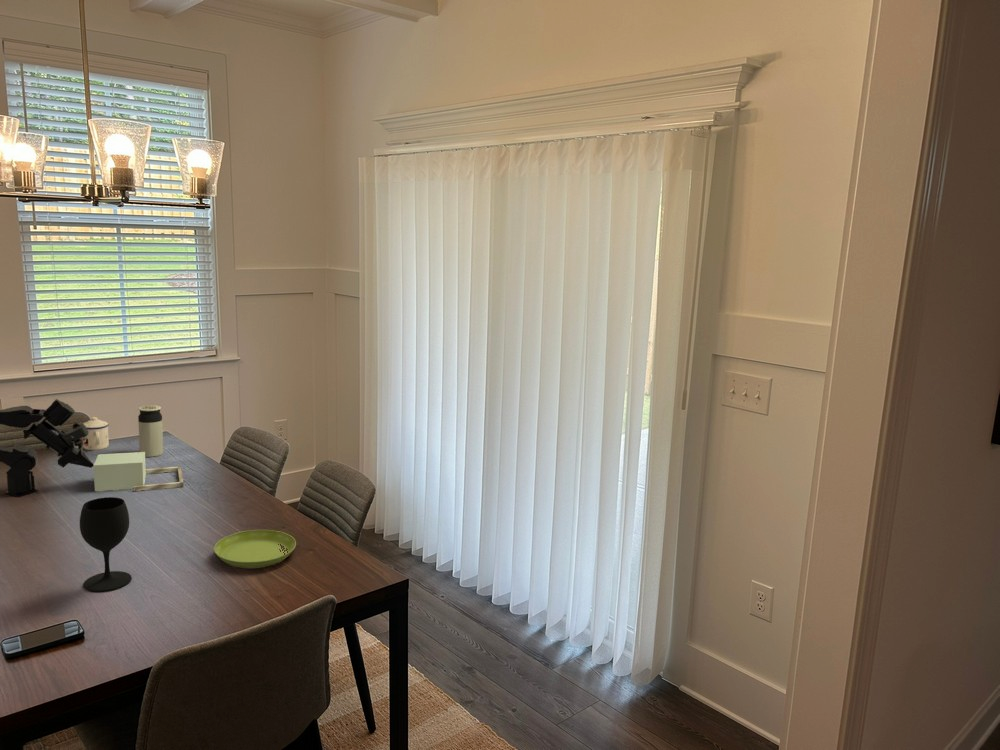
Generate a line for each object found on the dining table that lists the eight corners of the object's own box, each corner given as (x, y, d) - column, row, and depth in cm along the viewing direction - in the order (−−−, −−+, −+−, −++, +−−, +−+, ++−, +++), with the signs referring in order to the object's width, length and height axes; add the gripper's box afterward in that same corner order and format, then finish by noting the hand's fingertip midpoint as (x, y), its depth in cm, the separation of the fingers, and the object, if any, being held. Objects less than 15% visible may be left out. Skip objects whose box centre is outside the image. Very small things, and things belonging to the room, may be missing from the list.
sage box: (94, 492, 235) (93, 465, 233) (99, 480, 246) (98, 454, 244) (143, 488, 240) (142, 462, 238) (145, 477, 251) (144, 451, 249)
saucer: (210, 576, 183) (209, 564, 183) (218, 542, 203) (218, 531, 202) (296, 570, 189) (296, 558, 188) (296, 538, 208) (296, 527, 208)
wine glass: (120, 568, 184) (116, 492, 181) (139, 582, 178) (136, 504, 174) (75, 582, 176) (71, 503, 173) (94, 596, 170) (89, 515, 166)
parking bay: (134, 491, 237) (134, 487, 236) (135, 474, 253) (135, 470, 252) (183, 487, 243) (183, 482, 243) (181, 470, 259) (180, 466, 259)
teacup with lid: (80, 445, 281) (79, 415, 279) (107, 442, 287) (106, 413, 284) (84, 453, 272) (83, 423, 270) (112, 450, 277) (110, 420, 275)
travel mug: (148, 458, 270) (146, 411, 266) (135, 454, 274) (133, 407, 270) (167, 453, 276) (166, 407, 273) (154, 449, 281) (153, 404, 277)
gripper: (67, 424, 225) (110, 456, 231) (72, 410, 241) (112, 440, 248) (39, 451, 223) (83, 482, 230) (46, 435, 239) (87, 464, 246)
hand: (92, 466), depth 238 cm, fingers closed
